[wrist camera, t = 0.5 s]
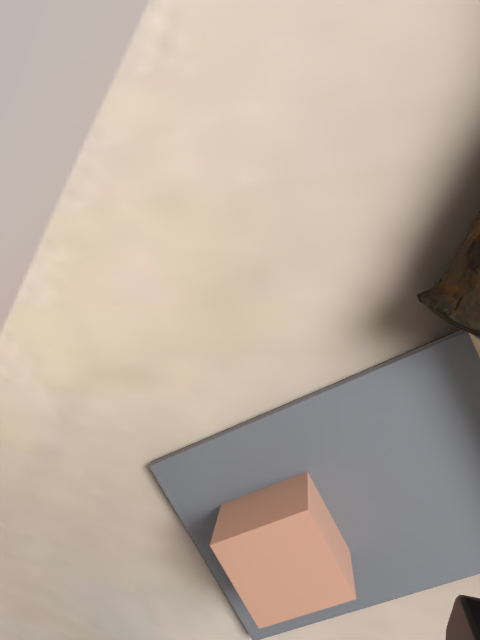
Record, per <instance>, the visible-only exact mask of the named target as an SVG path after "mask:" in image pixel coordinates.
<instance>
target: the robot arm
mask: <svg viewBox="0 0 480 640" xmlns="http://www.w3.org/2000/svg"><path fill="white" fill-rule="evenodd" d="M446 640H480V598H475V597H470V596H465V595H459V596H458V597H457V598H456V600H455V602H454V606H453V609H452V612H451V615H450V618H449V621H448V625H447V628H446Z"/></svg>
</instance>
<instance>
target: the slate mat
mask: <svg viewBox="0 0 480 640" xmlns="http://www.w3.org/2000/svg"><path fill="white" fill-rule="evenodd" d="M149 467H150V469H151V471H152V472H153V474H154V476H155V477H156V479H157V481H158V482H159V484H160V486H161V488H162V489H163V491H164V493H165V494H166V496H167V498H168V499H169V501H170V503H171V504H172V506H173V508H174V509H175V511H176V513H177V514H178V516H179V518H180V519H181V521H182V523H183V524H184V526H185V528H186V529H187V531H188V533H189V534H190V536H191V538H192V540H193V541H194V543H195V545H196V546H197V548H198V550H199V551H200V553H201V555H202V556H203V558H204V560H205V561H206V563H207V565H208V566H209V568H210V570H211V571H212V573H213V575H214V576H215V578H216V580H217V581H218V583H219V585H220V586H221V588H222V590H223V592H224V593H225V595H226V597H227V598H228V600H229V602H230V603H231V605H232V607H233V608H234V610H235V612H236V613H237V615H238V617H239V618H240V620H241V622H242V623H243V625H244V627H245V628H246V630H247V632H248V633H249V635H250V637H251V638H252V640H260V639H263V638H266V637H270V636H273V635H276V634H280V633H283V632H286V631H290V630H293V629H296V628H300V627H303V626H306V625H310V624H313V623H316V622H320V621H323V620H326V619H330V618H333V617H336V616H340V615H343V614H346V613H350V612H353V611H356V610H360V609H363V608H367V607H370V606H373V605H377V604H380V603H383V602H387V601H390V600H393V599H397V598H400V597H403V596H407V595H410V594H413V593H417V592H420V591H423V590H427V589H430V588H433V587H437V586H440V585H443V584H447V583H450V582H453V581H457V580H460V579H463V578H467V577H470V576H473V575H477V574H480V337H477V336H475V335H472V334H470V333H468V332H466V331H464V330H462V329H461V330H459V331H457V332H454V333H452V334H450V335H447V336H445V337H443V338H440V339H438V340H436V341H433V342H431V343H429V344H426V345H424V346H422V347H419V348H417V349H414V350H412V351H410V352H407V353H405V354H403V355H400V356H398V357H396V358H393V359H391V360H389V361H386V362H384V363H382V364H379V365H377V366H375V367H372V368H370V369H368V370H365V371H363V372H361V373H358V374H356V375H354V376H351V377H349V378H347V379H344V380H342V381H339V382H337V383H335V384H332V385H330V386H328V387H325V388H323V389H321V390H318V391H316V392H314V393H311V394H309V395H307V396H304V397H302V398H300V399H297V400H295V401H293V402H290V403H288V404H286V405H283V406H281V407H279V408H276V409H274V410H272V411H269V412H267V413H264V414H262V415H260V416H257V417H255V418H253V419H250V420H248V421H246V422H243V423H241V424H239V425H236V426H234V427H232V428H229V429H227V430H225V431H222V432H220V433H218V434H215V435H213V436H211V437H208V438H206V439H204V440H201V441H199V442H197V443H194V444H192V445H189V446H187V447H185V448H182V449H180V450H178V451H175V452H173V453H171V454H168V455H166V456H164V457H161V458H159V459H157V460H154V461H152V462H151V464H150V466H149ZM305 472H308V474H309V475H310V477H311V479H312V481H313V483H314V485H315V487H316V488H317V490H318V492H319V494H320V496H321V498H322V500H323V502H324V503H325V505H326V507H327V509H328V511H329V513H330V515H331V517H332V518H333V520H334V522H335V524H336V526H337V528H338V530H339V531H340V533H341V535H342V537H343V539H344V541H345V543H346V545H347V546H348V548H349V550H350V555H351V562H352V569H353V577H354V584H355V592H356V599H355V600H352V601H349V602H346V603H342V604H339V605H336V606H332V607H329V608H326V609H323V610H319V611H316V612H313V613H310V614H306V615H303V616H300V617H296V618H293V619H290V620H287V621H283V622H280V623H277V624H274V625H270V626H267V627H264V628H260V629H259V628H258V626H257V625H256V623H255V621H254V620H253V618H252V616H251V614H250V613H249V611H248V609H247V608H246V606H245V604H244V603H243V601H242V599H241V598H240V596H239V594H238V592H237V591H236V589H235V587H234V586H233V584H232V582H231V581H230V579H229V577H228V576H227V574H226V572H225V570H224V569H223V567H222V565H221V564H220V562H219V560H218V559H217V557H216V555H215V554H214V552H213V550H212V548H211V547H210V542H211V539H212V535H213V532H214V528H215V525H216V521H217V518H218V514H219V510H220V507H221V505H222V504H224V503H227V502H229V501H232V500H235V499H237V498H240V497H242V496H245V495H248V494H250V493H253V492H255V491H258V490H261V489H263V488H266V487H268V486H271V485H274V484H276V483H279V482H282V481H284V480H287V479H289V478H292V477H295V476H297V475H300V474H302V473H305Z"/></svg>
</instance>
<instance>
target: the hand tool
mask: <svg viewBox="0 0 480 640" xmlns="http://www.w3.org/2000/svg"><path fill="white" fill-rule="evenodd" d="M417 297H418V299H419V301H420V302H421V303H423V304H425V305H426V306H427V307H428V308H429V309H430V310H432V311H433V312H434V313H436V314H437V315H438V316H440V317H441V318H443V319H444V320H445V321H447V322H448V323H450V324H452V325H454V326H456V327H458V328H460V329H462V330H464V331H466V332H468V333H470V334H472V335H475V336H477V337H480V213H479V215H478V216H477V218H476V219H475V221H474V223H473V224H472V227H471V230H470V233H469V235H468V236H467V238H466V240H465V241H464V243H463V245H462V246H461V248H460V250H459V252H458V254H457V256H456V258H455V260H454V261H453V263H452V264H451V266H450V267H449V269H448V270H447V272H446V274H445V275H444V277H443V279H442V280H441V281H440V282H439V283H438V284H437V285H436V286H435V287H433V288H432V289H430V290H428V291H425V292H423V293H420V294H418V295H417Z"/></svg>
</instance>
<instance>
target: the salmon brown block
mask: <svg viewBox="0 0 480 640" xmlns="http://www.w3.org/2000/svg"><path fill="white" fill-rule="evenodd" d="M210 547H211V548H212V550H213V552H214V554H215V555H216V557H217V559H218V560H219V562H220V564H221V565H222V567H223V569H224V570H225V572H226V574H227V576H228V577H229V579H230V581H231V582H232V584H233V586H234V587H235V589H236V591H237V592H238V594H239V596H240V598H241V599H242V601H243V603H244V604H245V606H246V608H247V609H248V611H249V613H250V614H251V616H252V618H253V620H254V621H255V623H256V625H257V626H258V628H259V629H260V628H264V627H267V626H270V625H274V624H277V623H280V622H283V621H287V620H290V619H293V618H296V617H300V616H303V615H306V614H310V613H313V612H316V611H319V610H323V609H326V608H329V607H332V606H336V605H339V604H342V603H346V602H349V601H352V600H355V599H356V592H355V584H354V577H353V569H352V562H351V555H350V550H349V548H348V546H347V545H346V543H345V541H344V539H343V537H342V535H341V533H340V531H339V530H338V528H337V526H336V524H335V522H334V520H333V518H332V517H331V515H330V513H329V511H328V509H327V507H326V505H325V503H324V502H323V500H322V498H321V496H320V494H319V492H318V490H317V488H316V487H315V485H314V483H313V481H312V479H311V477H310V475H309V474H308V472H305V473H302V474H300V475H297V476H295V477H292V478H289V479H287V480H284V481H282V482H279V483H276V484H274V485H271V486H268V487H266V488H263V489H261V490H258V491H255V492H253V493H250V494H248V495H245V496H242V497H240V498H237V499H235V500H232V501H229V502H227V503H224V504H222V505H221V507H220V510H219V514H218V518H217V521H216V525H215V528H214V532H213V535H212V539H211V542H210Z"/></svg>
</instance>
